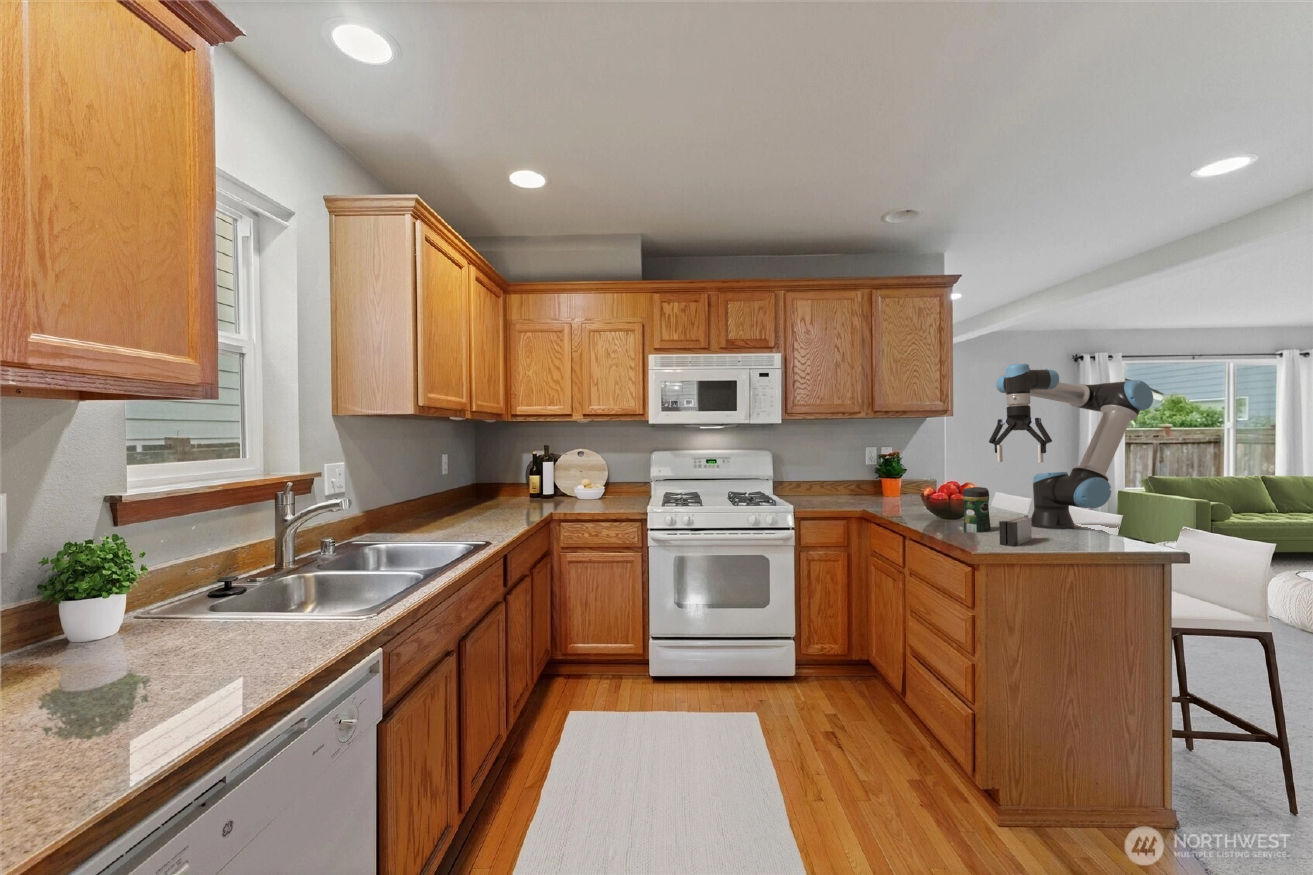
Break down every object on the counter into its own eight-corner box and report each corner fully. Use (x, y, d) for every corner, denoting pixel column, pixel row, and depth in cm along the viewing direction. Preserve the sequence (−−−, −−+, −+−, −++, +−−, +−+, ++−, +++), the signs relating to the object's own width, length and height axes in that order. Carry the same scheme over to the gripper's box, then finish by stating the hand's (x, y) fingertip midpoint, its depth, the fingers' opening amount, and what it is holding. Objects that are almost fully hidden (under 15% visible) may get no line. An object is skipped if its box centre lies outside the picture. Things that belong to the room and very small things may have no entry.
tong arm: (1018, 538, 203) (1017, 516, 203) (1024, 539, 202) (1023, 517, 202) (999, 544, 193) (999, 521, 193) (1006, 545, 192) (1005, 522, 192)
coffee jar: (975, 531, 228) (974, 485, 228) (994, 534, 220) (993, 487, 221) (959, 533, 224) (958, 487, 224) (978, 536, 216) (976, 488, 216)
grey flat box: (1025, 540, 203) (1024, 515, 203) (1035, 541, 200) (1034, 516, 200) (1004, 546, 192) (1003, 520, 192) (1014, 547, 190) (1013, 521, 190)
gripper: (978, 407, 217) (980, 462, 217) (1053, 403, 197) (1055, 463, 197) (986, 407, 222) (988, 461, 222) (1061, 403, 202) (1062, 462, 202)
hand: (1019, 462), depth 209 cm, fingers open, 13 cm apart
